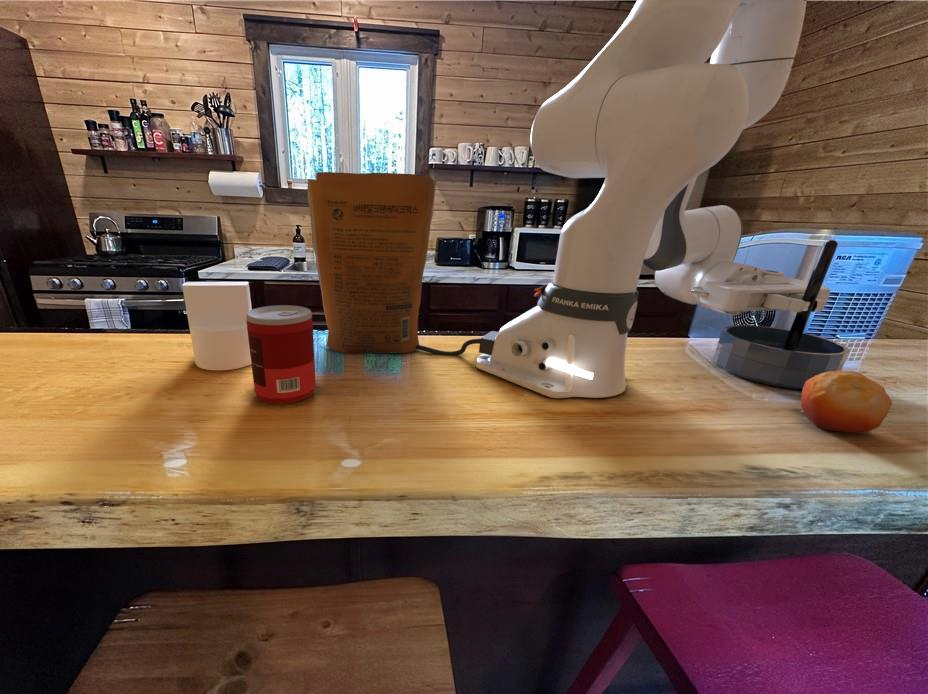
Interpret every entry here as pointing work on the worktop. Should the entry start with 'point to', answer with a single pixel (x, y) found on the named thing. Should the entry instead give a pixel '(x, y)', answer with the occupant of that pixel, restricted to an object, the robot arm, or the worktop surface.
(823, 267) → the long black rod
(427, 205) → the pancake mix bag
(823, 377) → the fruit
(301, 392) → the canned food
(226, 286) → the base with upright slab
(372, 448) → the worktop surface
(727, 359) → the bowl
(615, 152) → the robot arm
